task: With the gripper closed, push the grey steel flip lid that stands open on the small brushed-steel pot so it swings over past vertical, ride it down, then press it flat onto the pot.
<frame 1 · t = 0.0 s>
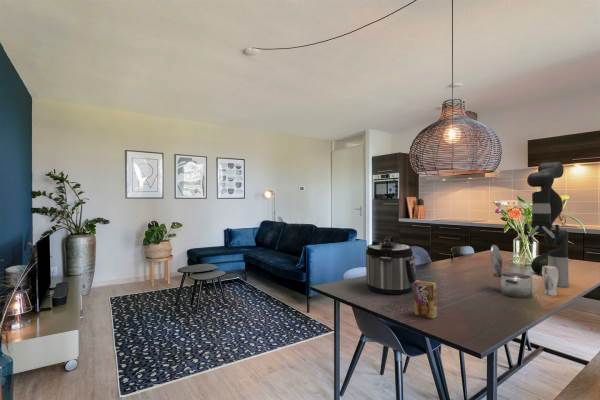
hand: (541, 244, 154), 29 cm above the table, tool pointing down, fingers open, 8 cm apart
squash: (544, 274, 209), on the table
lid: (495, 259, 176), point 18 cm above the table, hinge at 100.0°
pressure cooker: (390, 289, 183), on the table
pot: (516, 293, 169), on the table
candy box: (425, 315, 140), on the table
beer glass: (550, 294, 167), on the table
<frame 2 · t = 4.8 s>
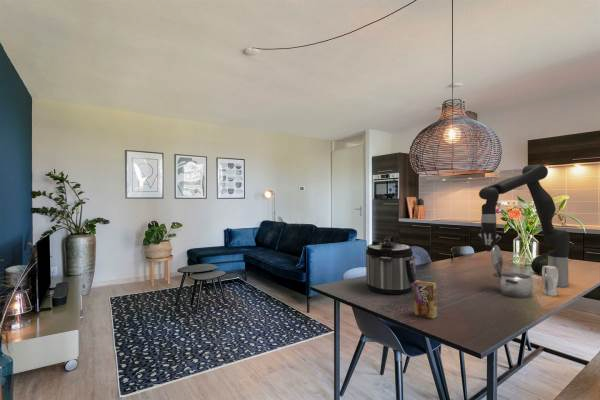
hand: (488, 251, 179), 22 cm above the table, tool pointing down, fingers closed
lid: (496, 259, 176), point 18 cm above the table, hinge at 97.3°, touching gripper
everything else where it was.
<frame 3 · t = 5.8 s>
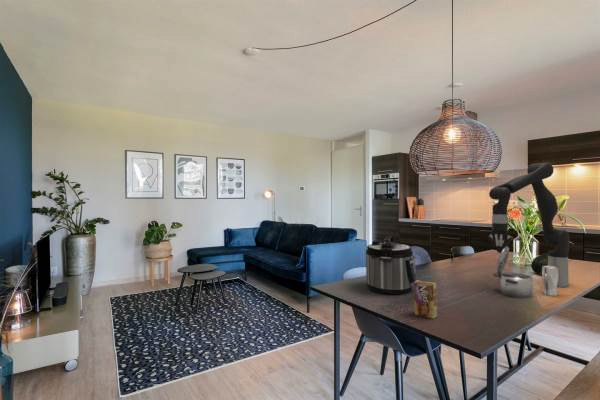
hand: (499, 252, 174), 22 cm above the table, tool pointing down, fingers closed
lid: (502, 259, 174), point 18 cm above the table, hinge at 76.0°, touching gripper
everything else where it was.
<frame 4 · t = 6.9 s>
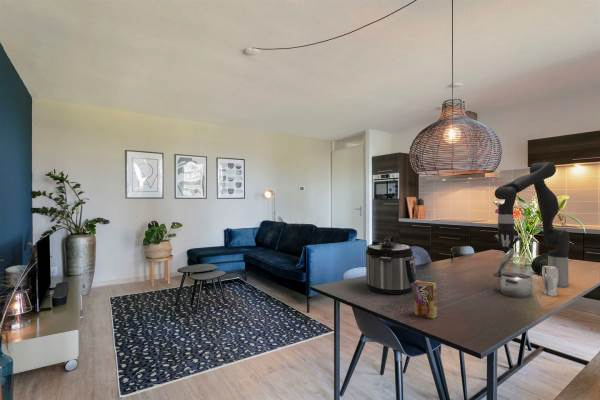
hand: (506, 253, 172), 22 cm above the table, tool pointing down, fingers closed
lid: (504, 260, 173), point 18 cm above the table, hinge at 65.5°, touching gripper
everything else where it was.
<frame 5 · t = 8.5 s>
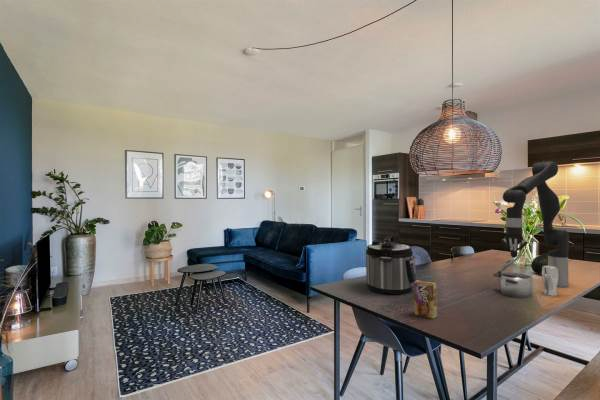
hand: (513, 257, 169), 20 cm above the table, tool pointing down, fingers closed
lid: (508, 263, 171), point 16 cm above the table, hinge at 47.2°, touching gripper
everything else where it was.
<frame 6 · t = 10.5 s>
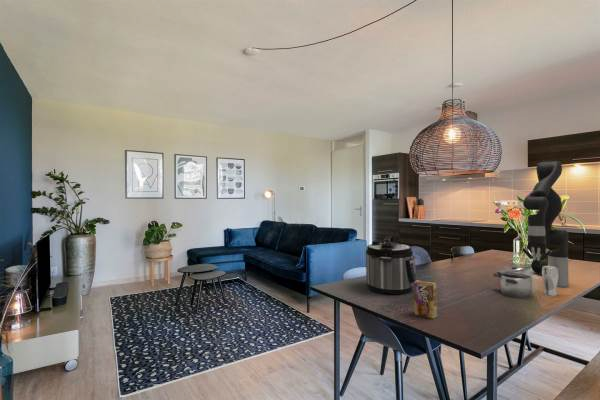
hand: (537, 267, 162), 16 cm above the table, tool pointing down, fingers closed
lid: (513, 269, 169), point 14 cm above the table, hinge at 18.9°
everything else where it was.
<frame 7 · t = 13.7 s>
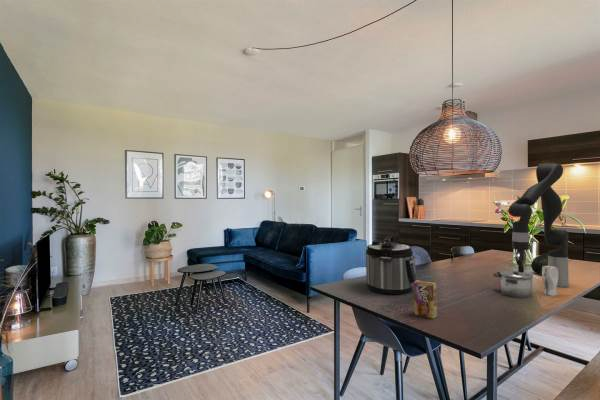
hand: (521, 272, 167), 12 cm above the table, tool pointing down, fingers closed
lid: (514, 273, 169), point 11 cm above the table, hinge at -0.6°, touching pot
everything else where it was.
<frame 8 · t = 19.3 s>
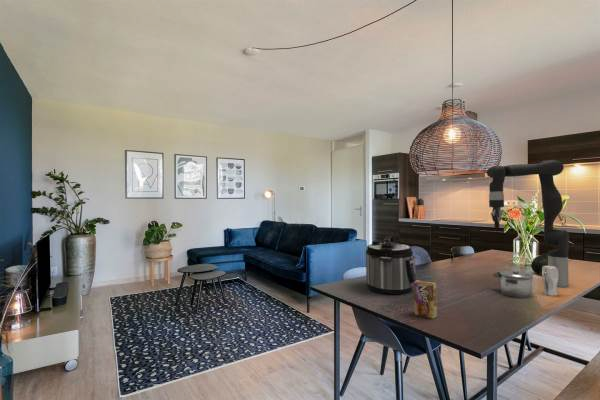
hand: (497, 228, 183), 35 cm above the table, tool pointing down, fingers closed
nothing on the table moved.
at the end: lid at -1° (first picture: +100°); lid touching pot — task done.
